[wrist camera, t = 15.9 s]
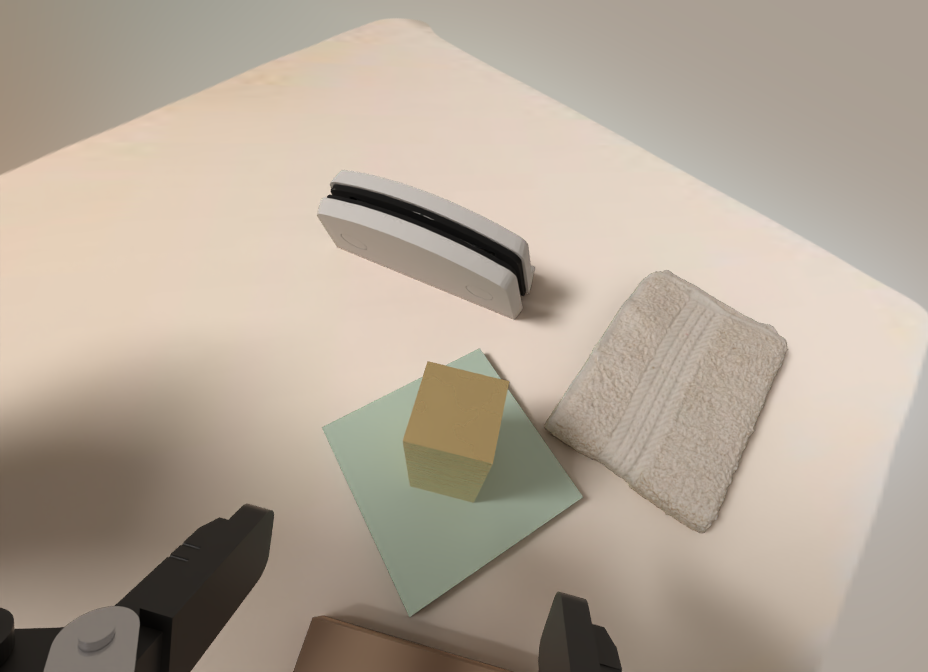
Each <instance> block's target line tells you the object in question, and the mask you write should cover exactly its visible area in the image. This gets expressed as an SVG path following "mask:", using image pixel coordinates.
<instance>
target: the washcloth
mask: <svg viewBox="0 0 928 672" xmlns="http://www.w3.org/2000/svg"><path fill="white" fill-rule="evenodd" d="M787 350H788V349H787V342H786V340H785V339H784V338H783V337H782V336H780V335H779V334H778V333H777V331H776V329H775V328H774V327H773V326H771V325H769V324H763V323H758V322H756V321H755V320H753V319H751V318H749V317H747V316H745V315H743V314H741V313H739V312H737V311H736V310H735V309H733V308H731V307H730V306H728V305H726V304H725V303H723V302H721V301H719V300H717V299H716V298H714V297H713V296H711V295H709V294H708V293H706V292H704V291H703V290H701V289H700V288H699V287H697V286H695V285H693V284H691V283H689V282H687V281H686V280H683V279H681V278H680V277H678V276H676V275H674V274H673V273H672V272H670V271H669V270H665V271H664V272H661V271H660V272H654V273H651V274H650V275H648V276H647V277H646V278H644V279H643V280H642V281H641V282H640V284H639V285H638V286H637V288H636V290H635V291H634V292H633V293H632V294H631V296H630V297H629V299H627V300H626V301H625V302H624V304H623V306H622V307H621V308H620V310H619V311H618V312H617V314H616V315H615V317H614V318H613V320H612V321H611V323H610V325H609V326H608V328H607V330H606V331H605V333H604V334H603V336H602V338H601V339H600V340H599V342H598V343H597V344H596V345H595V347H594V348H593V350H592V353H591V354H590V356H589V358H588V359H587V361H586V363H585V364H584V366H583V367H582V369H581V371H580V372H579V373H578V375H577V376H576V377H575V379H574V380H573V381H572V383H571V385H570V386H569V388H568V390H567V391H566V393H565V394H564V396H563V398H562V399H561V400H560V402H559V403H558V405H557V406H556V407H555V409H554V411H553V412H552V414H551V416H550V417H549V419H548V420H547V422H546V424H545V429H547V430H548V431H549V432H551V433H552V434H553V436H555V437H557V438H558V439H560V440H561V441H563V442H564V443H565V444H567V445H569V446H571V447H572V448H573V449H574V450H576V451H578V452H579V453H582V454H584V455H585V456H587V457H590V458H591V459H596V460H597V461H599V462H600V463H602V464H604V465H605V466H606V467H607V468H608V469H609V470H611V471H613V472H614V473H615V474H616V475H617V476H619V477H622V478H623V479H624V480H625V481H626V482H627V483H628V484H629V487H630V488H631V489H633V490H634V491H636V492H637V493H638V494H639V495H641V496H642V497H644V498H645V499H647V500H649V501H650V502H651V503H653V504H654V505H656V506H657V507H658V508H661V509H662V510H663V511H664V512H665V513H666V514H667V515H670V516H672V517H674V518H675V519H676V520H678V521H679V522H680V523H683V524H684V525H686V526H687V527H689V528H690V529H692V530H694V531H696V532H698V533H704V532H705V531H706V530H707V529H708V528H709V527H710V526H711V522H712V521H713V520H716V519H717V517H718V515H717V512H718V511H719V508H720V506H721V505H722V503H723V501H724V496H725V494H726V492H727V491H726V490H727V487H728V486H729V484H731V482H732V475H733V473H734V472H736V469H737V468H738V462H739V460H740V458H741V454H742V452H743V450H744V449H745V448H746V443H747V440H748V438H749V437H750V435H751V434H752V433H753V432H754V431H755V430H754V429H753V427H754V426H755V423H756V421H757V417H758V416H759V412H760V411H761V409H762V408H763V406H764V402H765V397H766V395H767V393H768V391H769V390H770V389H771V385H772V382H773V379H774V377H775V376H776V375H777V371H778V369H779V368H780V367H781V365H782V363H781V362H782V361H783V359H784V355H785V353H786V351H787Z"/></svg>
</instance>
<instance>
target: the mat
mask: <svg viewBox="0 0 928 672" xmlns="http://www.w3.org/2000/svg"><path fill="white" fill-rule="evenodd" d="M445 366H449V367H453V368H457V369H461V370H465V371H469V372H473V373H478V374H482V375H486V376H490V377H494V378H498V379H501V378H500V377H499V375H498V374H497V373H496V371H495V370H494V368H493V367H492V365H491V364H490V362H489V361H488V360H487V358H486V357H485V355H484V354H483V352H482V351H481V349H480V348H479V349H477V350H475V351H473V352H471V353H469V354H467V355H465V356H463V357H461V358H459V359H457V360H455V361H453V362H451V363H449V364H447V365H445ZM422 378H423V377H421V378H419V379H417V380H415V381H413V382H411V383H409V384H408V385H406V386H404V387H402V388H400V389H398V390H396V391H394V392H392V393H390V394H388V395H386V396H384V397H382V398H380V399H378V400H376V401H374V402H372V403H370V404H368V405H366V406H364V407H362V408H360V409H358V410H356V411H354V412H352V413H350V414H348V415H346V416H344V417H342V418H340V419H338V420H336V421H334V422H332V423H330V424H328V425H326V426H324V427H322V429H323V431H324V433H325V435H326V437H327V439H328V442H329V444H330V446H331V448H332V450H333V452H334V455H335V457H336V459H337V461H338V463H339V465H340V468H341V470H342V472H343V474H344V476H345V478H346V481H347V483H348V485H349V487H350V489H351V492H352V494H353V496H354V498H355V500H356V502H357V505H358V507H359V509H360V511H361V513H362V515H363V518H364V520H365V522H366V524H367V526H368V528H369V531H370V533H371V535H372V537H373V539H374V541H375V544H376V546H377V548H378V550H379V552H380V555H381V557H382V559H383V561H384V563H385V565H386V568H387V570H388V572H389V574H390V576H391V578H392V581H393V583H394V585H395V587H396V589H397V591H398V594H399V596H400V598H401V600H402V602H403V605H404V607H405V609H406V611H407V613H408V615H409V617H411V616H412V615H413V614H415V613H416V612H418V611H419V610H421V609H422V608H424V607H425V606H426V605H428V604H429V603H431V602H432V601H434V600H435V599H437V598H438V597H439V596H441V595H442V594H444V593H445V592H447V591H448V590H450V589H451V588H452V587H454V586H455V585H457V584H458V583H460V582H461V581H463V580H464V579H465V578H467V577H468V576H470V575H471V574H473V573H474V572H476V571H477V570H478V569H480V568H481V567H483V566H484V565H486V564H487V563H489V562H490V561H491V560H493V559H494V558H496V557H497V556H499V555H500V554H502V553H503V552H504V551H506V550H507V549H509V548H510V547H512V546H513V545H515V544H516V543H517V542H519V541H520V540H522V539H523V538H525V537H526V536H528V535H529V534H530V533H532V532H533V531H535V530H536V529H538V528H539V527H541V526H542V525H543V524H545V523H546V522H548V521H549V520H551V519H552V518H554V517H555V516H556V515H558V514H559V513H561V512H562V511H564V510H565V509H567V508H568V507H569V506H571V505H572V504H574V503H575V502H577V501H578V500H580V499H581V498H583V496H582V495H581V493H580V492H579V490H578V489H577V488H576V486H575V485H574V483H573V482H572V480H571V479H570V478H569V476H568V475H567V473H566V472H565V470H564V469H563V467H562V466H561V465H560V463H559V462H558V460H557V459H556V457H555V456H554V455H553V453H552V452H551V450H550V449H549V447H548V446H547V444H546V443H545V442H544V440H543V439H542V437H541V436H540V434H539V433H538V432H537V430H536V429H535V427H534V426H533V424H532V423H531V421H530V420H529V419H528V417H527V416H526V414H525V413H524V411H523V410H522V408H521V407H520V406H519V404H518V403H517V401H516V400H515V398H514V397H513V396H512V394H511V393H510V391H509V390H508V391H507V396H506V401H505V406H504V411H503V416H502V421H501V426H500V431H499V436H498V441H497V446H496V451H495V456H494V461H493V465H492V467H491V469H490V471H489V473H488V475H487V477H486V479H485V481H484V483H483V485H482V487H481V489H480V491H479V493H478V495H477V497H476V499H475V501H474V503H472V502H468V501H464V500H461V499H457V498H453V497H449V496H445V495H442V494H438V493H434V492H430V491H426V490H423V489H419V488H415V487H411V486H410V485H409V478H408V472H407V466H406V459H405V453H404V447H403V438H404V435H405V431H406V428H407V425H408V422H409V419H410V416H411V413H412V409H413V406H414V403H415V400H416V397H417V394H418V390H419V387H420V384H421V381H422Z"/></svg>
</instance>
